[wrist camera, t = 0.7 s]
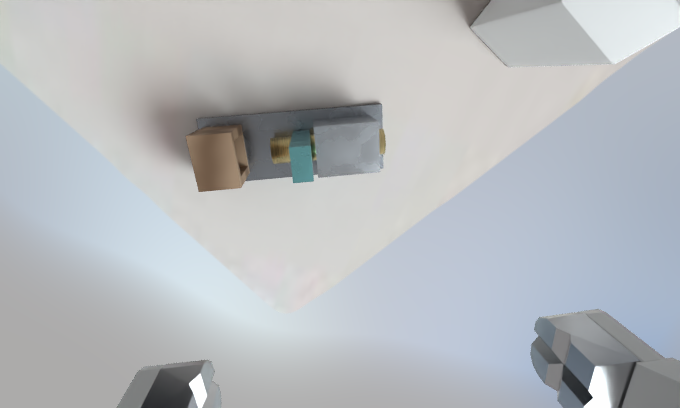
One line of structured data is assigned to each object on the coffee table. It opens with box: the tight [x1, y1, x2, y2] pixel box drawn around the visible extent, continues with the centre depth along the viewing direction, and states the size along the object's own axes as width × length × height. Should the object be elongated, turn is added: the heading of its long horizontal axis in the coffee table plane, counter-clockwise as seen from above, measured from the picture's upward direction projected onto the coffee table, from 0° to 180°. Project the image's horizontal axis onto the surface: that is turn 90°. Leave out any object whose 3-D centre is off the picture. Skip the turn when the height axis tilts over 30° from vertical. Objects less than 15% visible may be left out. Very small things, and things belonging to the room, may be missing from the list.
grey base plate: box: [196, 104, 383, 181], centre depth 38 cm, size 22×8×6 cm, turn 94°
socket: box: [186, 124, 250, 192], centre depth 38 cm, size 4×6×6 cm
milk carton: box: [470, 0, 680, 67], centre depth 30 cm, size 7×7×19 cm
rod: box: [270, 129, 386, 183], centre depth 36 cm, size 13×4×10 cm, turn 94°
